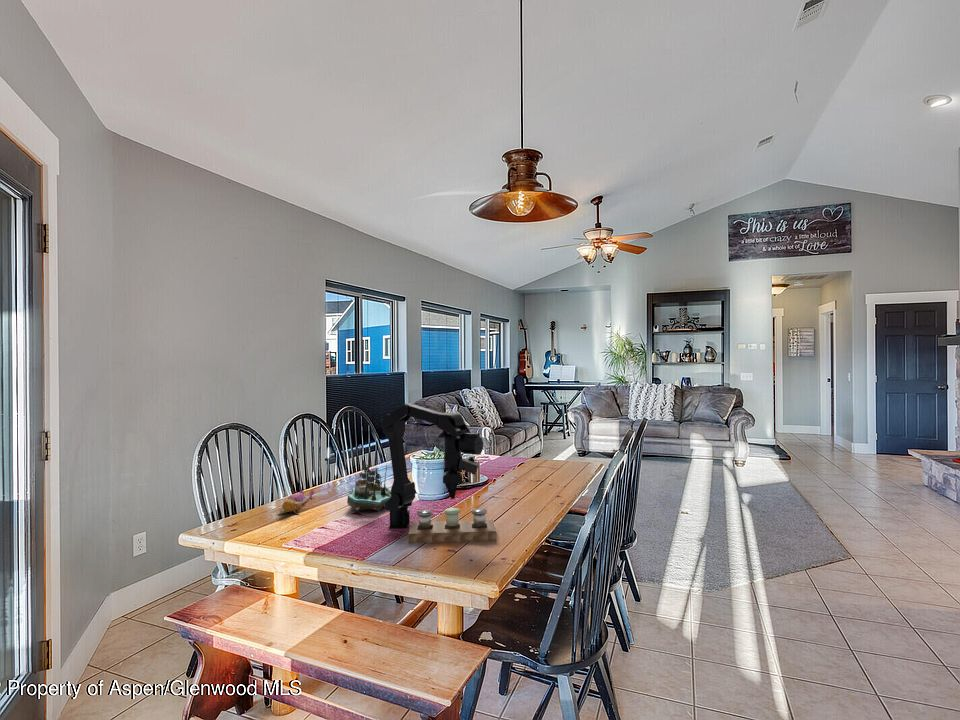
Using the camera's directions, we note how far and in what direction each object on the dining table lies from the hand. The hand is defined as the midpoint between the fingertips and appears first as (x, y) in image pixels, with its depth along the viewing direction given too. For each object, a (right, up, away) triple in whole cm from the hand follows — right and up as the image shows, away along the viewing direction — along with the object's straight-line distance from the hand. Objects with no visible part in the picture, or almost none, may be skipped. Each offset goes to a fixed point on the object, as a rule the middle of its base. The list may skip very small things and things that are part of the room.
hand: (452, 498), depth 176 cm
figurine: (-65, -14, +37) cm, 76 cm away
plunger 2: (+9, -9, 0) cm, 12 cm away
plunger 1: (-9, -9, -1) cm, 13 cm away
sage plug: (0, -8, 0) cm, 8 cm away
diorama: (-34, -13, +37) cm, 52 cm away
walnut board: (0, -12, 0) cm, 12 cm away
